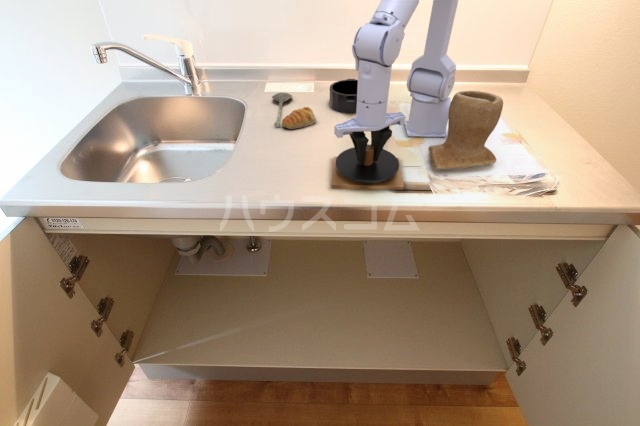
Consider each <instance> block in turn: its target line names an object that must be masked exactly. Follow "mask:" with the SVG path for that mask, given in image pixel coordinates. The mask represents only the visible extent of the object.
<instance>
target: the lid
mask: <svg viewBox="0 0 640 426" xmlns="http://www.w3.org/2000/svg"><path fill="white" fill-rule="evenodd" d="M374 149H375V148H374V146H372V145H371V144H367V147H366V151H365V162H364V164H360V163H359V162H358V161H357V155H356V151H355V147H354V146H353V147H350V148H347V149H345V150H343V151H342V152H340V153H339V154H338V155H337V156H336V157H337V159H336V168H337V170H338V172H339V173H340V174H341V175H343V176H344V177H346V178H348V179H350V180H353V181H357V182H363V183H376V182H382V181H385V180H387V179H390V178H391V177H393V176H394V175H395V174H396V173H397V172H398V169H399V163H400V160H399V161H398V159H397V158H398V157H397V156H396V155H395V154H393V153H392V152H391V151H389V150H387V149H384V148H383V149H382V151H381V153H380V155H379V158H378V160H377V161H374V160H373V159H374Z"/></svg>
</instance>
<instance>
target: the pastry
mask: <svg viewBox="0 0 640 426" xmlns="http://www.w3.org/2000/svg"><path fill="white" fill-rule="evenodd" d="M316 121H317V118H316V116H315V113H314V110H313V109H312V108H311V107H309V106H303V107H301V108H298V109H293V110H292V111H291V112H290V113H289V114H287V115H286V116H285V117H284V118H282V120H281V127H283V128H286V129H289V130H296V129H301V128H306V127H308V126H312V125H314V124H315V123H316Z"/></svg>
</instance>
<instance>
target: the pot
mask: <svg viewBox="0 0 640 426" xmlns="http://www.w3.org/2000/svg"><path fill="white" fill-rule="evenodd" d="M357 89H358V79H356V78H347V79H342V80H337V81H335V82H333V83H332V84H330V85H329V107H330V108H331V109H332V110H333V111H335V112H338V113H342V114H356V110H357Z"/></svg>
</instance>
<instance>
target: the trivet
mask: <svg viewBox="0 0 640 426" xmlns="http://www.w3.org/2000/svg"><path fill="white" fill-rule="evenodd" d="M337 157H338V156H333V160H332V161H333V163H332V172H331V182H330V188H331V189H337V190H339V189H342V190H344V189H345V190H375V191H376V190H377V191H378V190H382V191H404V189H405V185H404V180H403V175H402V174H403V173H402V169H401V163H400V157H396V158H397V159H398V161H399V169H398V172H397V173H396V174H395V175H394V176H393V177H391V178H390V179H387V180H385V181H382V182H376V183H363V182H357V181H353V180H350V179H348V178H346V177H344V176H343V175H341V174H340V173H339V172H338V170H337V168H336V159H337Z"/></svg>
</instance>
